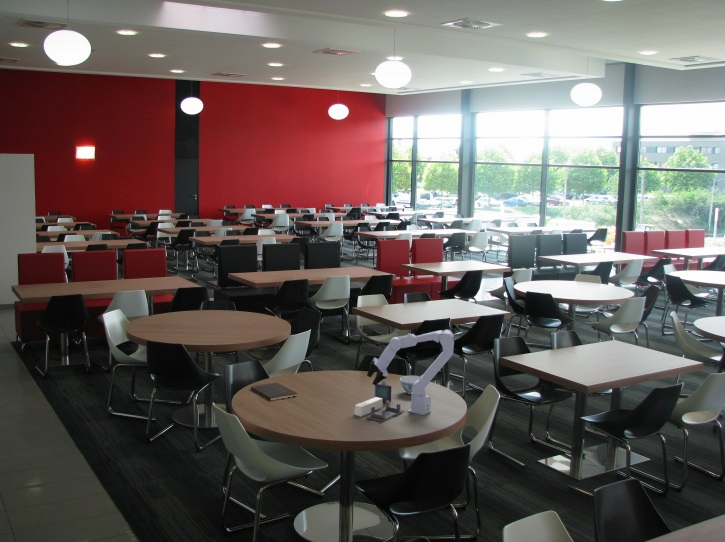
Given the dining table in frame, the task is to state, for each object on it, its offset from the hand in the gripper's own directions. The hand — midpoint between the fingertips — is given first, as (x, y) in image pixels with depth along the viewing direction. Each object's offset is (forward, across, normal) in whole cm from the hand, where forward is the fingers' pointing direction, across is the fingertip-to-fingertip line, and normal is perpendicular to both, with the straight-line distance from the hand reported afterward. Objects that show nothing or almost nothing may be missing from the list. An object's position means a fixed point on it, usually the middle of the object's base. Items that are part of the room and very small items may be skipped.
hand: (371, 380), depth 364 cm
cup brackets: (+8, +16, +6) cm, 19 cm away
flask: (+10, -4, +17) cm, 20 cm away
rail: (+12, +9, +3) cm, 15 cm away
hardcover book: (+40, -32, -24) cm, 57 cm away
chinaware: (+3, -12, +37) cm, 39 cm away
